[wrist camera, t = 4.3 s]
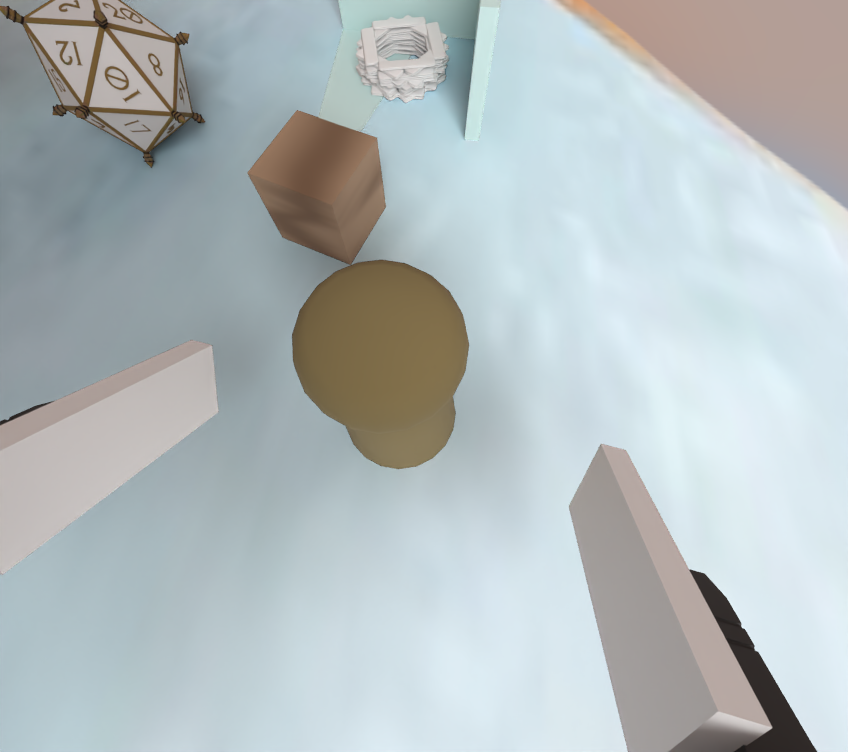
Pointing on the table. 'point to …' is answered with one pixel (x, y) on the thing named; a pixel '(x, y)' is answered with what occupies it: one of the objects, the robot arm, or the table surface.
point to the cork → (383, 358)
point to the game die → (112, 68)
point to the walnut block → (321, 185)
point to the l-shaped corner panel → (406, 55)
